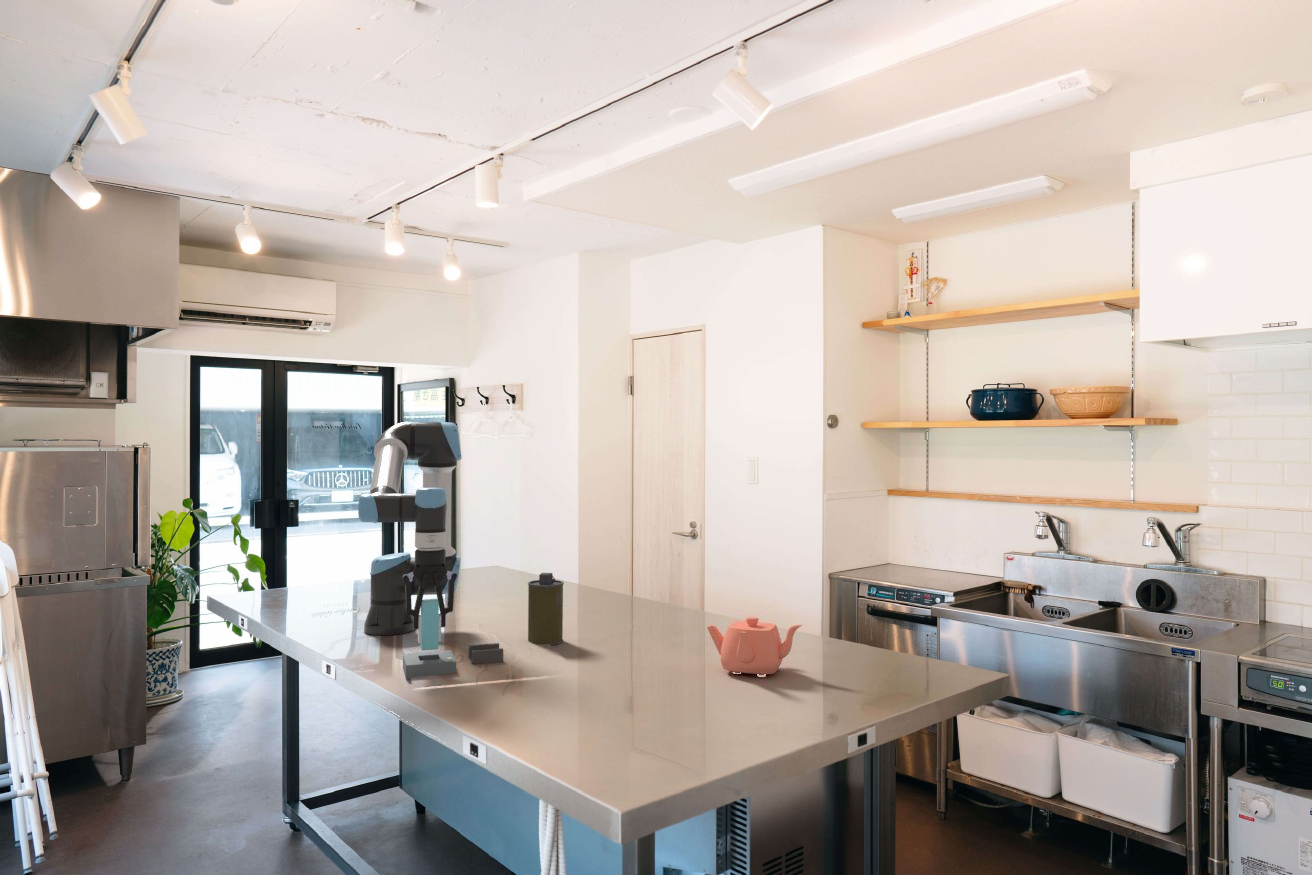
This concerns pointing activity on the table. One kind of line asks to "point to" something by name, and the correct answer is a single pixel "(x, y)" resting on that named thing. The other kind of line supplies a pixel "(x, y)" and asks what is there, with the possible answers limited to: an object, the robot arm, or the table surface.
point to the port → (428, 663)
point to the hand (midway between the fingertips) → (429, 640)
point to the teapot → (752, 646)
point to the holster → (485, 653)
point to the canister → (545, 610)
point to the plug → (430, 624)
